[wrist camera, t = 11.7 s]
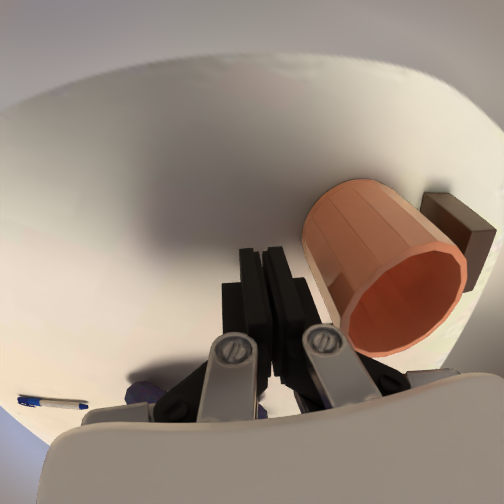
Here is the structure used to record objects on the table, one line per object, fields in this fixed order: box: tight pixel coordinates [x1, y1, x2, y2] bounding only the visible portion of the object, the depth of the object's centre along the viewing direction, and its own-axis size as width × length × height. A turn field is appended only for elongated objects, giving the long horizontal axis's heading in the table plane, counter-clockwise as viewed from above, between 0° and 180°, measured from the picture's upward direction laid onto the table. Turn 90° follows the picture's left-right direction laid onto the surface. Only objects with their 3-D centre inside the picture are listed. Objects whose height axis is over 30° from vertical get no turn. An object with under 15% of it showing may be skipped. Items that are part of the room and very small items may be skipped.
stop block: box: [420, 193, 497, 293], centre depth 12 cm, size 2×4×4 cm, turn 2°
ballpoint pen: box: [17, 397, 88, 410], centre depth 21 cm, size 10×1×1 cm, turn 101°
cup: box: [302, 179, 467, 358], centre depth 12 cm, size 6×6×6 cm
